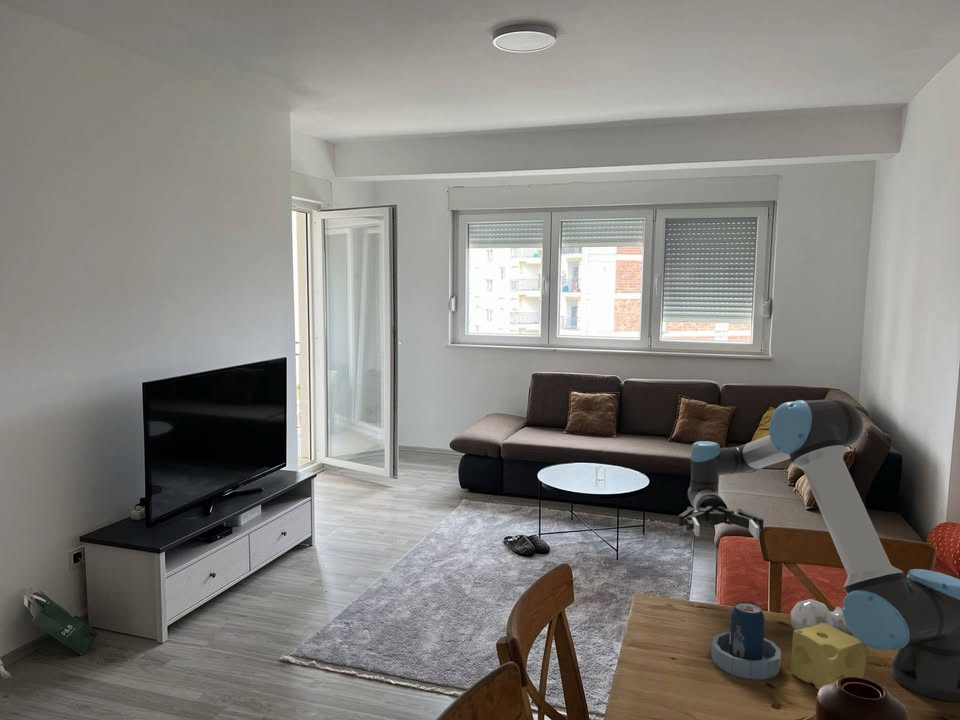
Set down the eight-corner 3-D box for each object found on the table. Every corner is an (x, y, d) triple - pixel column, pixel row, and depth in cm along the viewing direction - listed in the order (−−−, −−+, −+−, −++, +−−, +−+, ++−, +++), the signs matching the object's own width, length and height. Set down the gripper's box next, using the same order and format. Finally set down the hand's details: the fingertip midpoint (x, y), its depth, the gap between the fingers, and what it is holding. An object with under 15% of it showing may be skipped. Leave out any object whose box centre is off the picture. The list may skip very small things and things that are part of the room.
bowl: (782, 656, 160) (783, 640, 160) (776, 686, 148) (777, 669, 148) (717, 641, 167) (718, 626, 166) (706, 669, 154) (707, 652, 154)
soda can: (761, 654, 160) (764, 602, 158) (763, 669, 153) (766, 616, 152) (728, 649, 162) (731, 598, 161) (729, 664, 155) (732, 611, 154)
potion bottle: (786, 644, 169) (840, 646, 172) (811, 636, 161) (868, 639, 164) (777, 603, 174) (831, 606, 177) (801, 594, 166) (857, 597, 169)
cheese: (829, 698, 144) (832, 651, 143) (787, 672, 154) (789, 628, 153) (865, 687, 148) (868, 641, 147) (821, 663, 158) (824, 619, 157)
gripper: (758, 523, 188) (781, 550, 167) (662, 519, 191) (672, 544, 170) (759, 495, 188) (783, 518, 167) (662, 491, 191) (673, 514, 170)
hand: (727, 532), depth 168 cm, fingers open, 13 cm apart
